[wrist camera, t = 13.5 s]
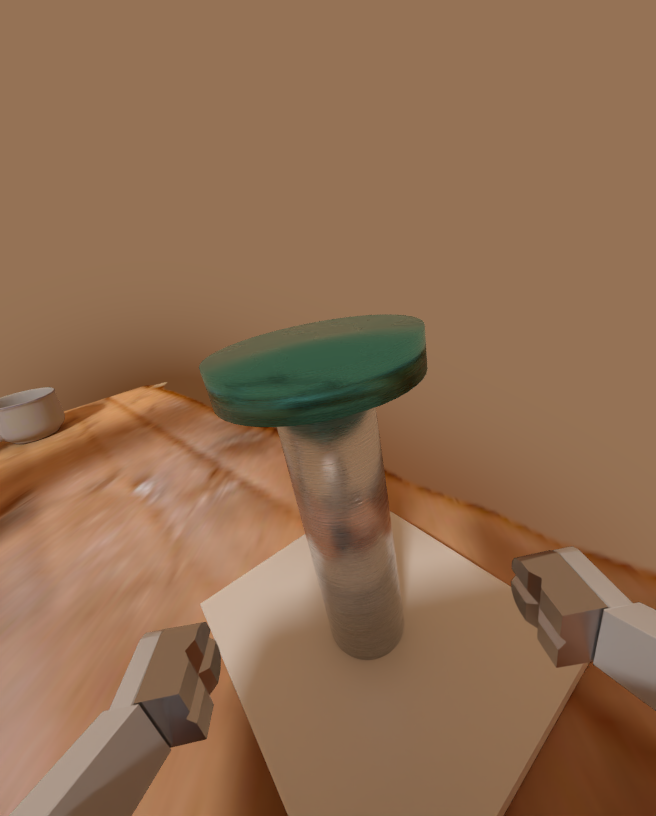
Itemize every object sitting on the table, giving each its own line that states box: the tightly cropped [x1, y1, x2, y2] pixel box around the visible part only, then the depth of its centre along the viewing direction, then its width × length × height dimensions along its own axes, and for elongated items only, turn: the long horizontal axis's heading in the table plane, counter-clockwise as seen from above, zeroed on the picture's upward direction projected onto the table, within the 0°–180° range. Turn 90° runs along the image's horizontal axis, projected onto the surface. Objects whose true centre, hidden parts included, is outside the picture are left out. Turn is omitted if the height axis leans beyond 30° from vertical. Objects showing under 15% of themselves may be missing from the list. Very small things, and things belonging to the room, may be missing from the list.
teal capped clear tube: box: [199, 315, 427, 660], centre depth 15 cm, size 8×8×16 cm
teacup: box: [0, 387, 65, 444], centre depth 60 cm, size 14×11×8 cm
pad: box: [200, 511, 589, 816], centre depth 18 cm, size 16×14×1 cm
